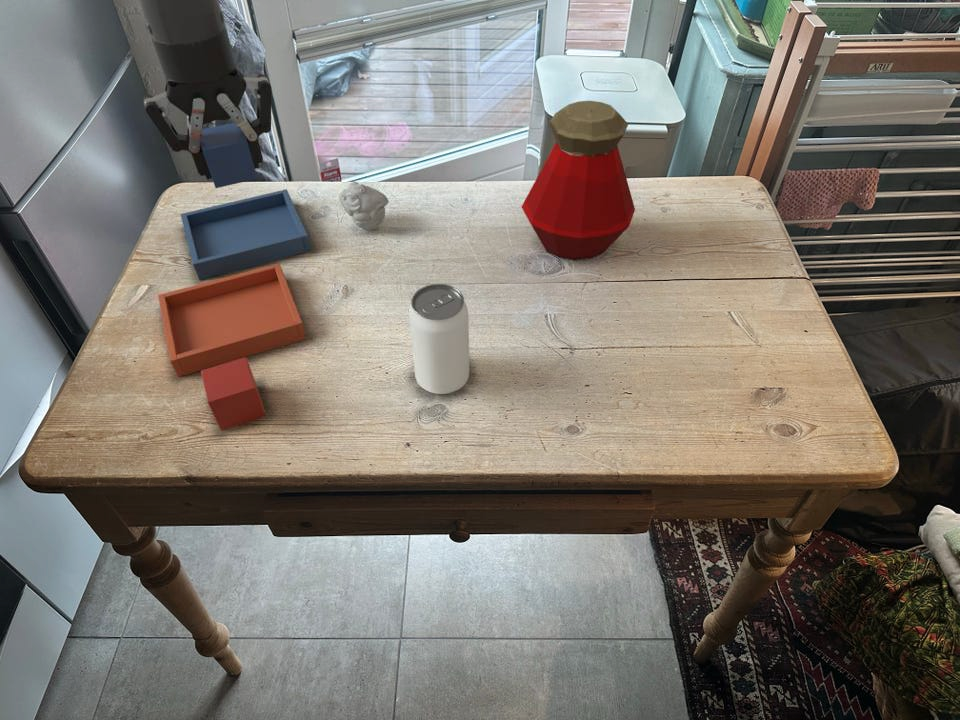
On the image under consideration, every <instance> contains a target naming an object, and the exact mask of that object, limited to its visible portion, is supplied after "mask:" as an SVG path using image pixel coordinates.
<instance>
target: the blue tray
mask: <svg viewBox="0 0 960 720" xmlns="http://www.w3.org/2000/svg"><path fill="white" fill-rule="evenodd" d="M180 218H181V222H182V226H183V231H184V234H185V238H186V242H187V246H188V250H189V254H190V258H191V263H192V265H193V268H194V271H195V273H196V275H197V278H198V280H199V281H201V280H206V279H210V278H214V277H218V276H220V275H224V274H230V273H232V272H237V271H241V270H244V269H248V268H251V267H256V266H259V265H263V264H266V263H270V262H274V261H278V260H282V259H286V258H291V257H295V256H297V255H298V256H299V255H301V254H306V253H309V252H312V248H311V247H312V246H311V243H310V240H309V234H308V232H307V231H306V229H305V228H306V227H304V223H303V222H302V220H301V217H300V215H299V213H298V211H297V208H296V206H295V204H294V202H293V200H292V197H291V196H290V193H289V191H288V188H287V189H282V190H277V191H273V192H268V193H264V194H260V195H255V196H252V197H248V198H247V197H246V198H243V199H238V200H234V201H230V202H225V203H221V204H218V205H213V206H209V207H205V208H200V209H196V210H192V211H188V212H183V213H180Z"/></svg>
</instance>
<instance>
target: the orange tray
mask: <svg viewBox="0 0 960 720" xmlns="http://www.w3.org/2000/svg"><path fill="white" fill-rule="evenodd" d="M157 297H158V303H159V308H160V313H161V320H162V325H163V330H164V335H165V340H166V346H167V351H168V356H169V357H168V358H169V362H170V364H171V366H172V368H173V370H174V371H175V374H176V376H177V378H180V377H182V376H185V375H189V374H192V373H196V372H199V371H201V370H204V369H208V368H211V367H214V366H218V365H221V364H225V363H228V362H231V361H235V360H238V359H241V358H245V357H246V358H247V357H250V356H252V355H253V356H254V355H256V354H259V353H263V352H266V351H270V350H272V349H276V348H280V347H284V346H286V345H291V344H293V343H296V342H299V341H303V340H307V334H306V330H305V327H304V323H303V321H302V318H301V315H300V313H299V309H298V308H297V305H296V302H295V300H294V297H293V295H292V292H291V289H290V287H289V284H288V282H287V279H286V277H285V274H284V271H283V268H282V266H281V263H279V262H278V263H274V264H271V265H266V266H262V267H258V268H256V269H251V270H248V271H244V272H241V273H237V274H233V275H229V276H225V277H221V278H217V279H214V280H210V281H206V282H202V283H198V284H194V285H191V286H187V287H183V288H180V289H175V290H172V291H167V292H164V293H160V294H157Z"/></svg>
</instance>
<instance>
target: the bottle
mask: <svg viewBox="0 0 960 720" xmlns="http://www.w3.org/2000/svg"><path fill="white" fill-rule="evenodd" d="M549 126H550V128H551V130H552V134H553V136H554V139H555V144H554V145H553V147H552V150H551V151H550V153H549V155H548V157H547V159H546V161H545V163H544V164H543V166H542V168H541V170H540V172H539V173H538V175H537V176H536V179H535V181H534V183H533V184H532V187H531V188H530V190H529V192H528V193H527V195H526V197H525V200H524V201H523V203H522V205H521V210H522V211H523V213H524V215H525V217H526V218H527V220H528V222H529V224H530V226H531V227H532V228H533V231H534V233H535V234H536V236H537V237H538V240H539V241H540V244H542V246H543V248H544V250H545V251H546V253H548V254H550V255H553V256H555V257H557V258H560V259H564V260H570V261H582V260H591V259H594V258H596V257H598V256H601V255H603V254H604V253H605V252H606V251H607V250H608V249H609V248H610V247H611V246H612V245H613V244H614V243H615V242H616V241H617V240H618V239H619V238H620V237H621V236H622V235H623V233H624V232H626V230H627V229H628V228H629V227H630V225H631V222H632V220H633V217H634V214H635V211H636V207H635V204H634V199H633V196H632V193H631V189H630V185H629V183H628V178H627V176H626V175H627V174H626V172H625V171H626V170H625V167H624V165H623V164H624V163H623V161H622V157H621V154H620V151H619V147H618V144H619V143H620V141H621V140H622V138H623V137H624V135H625V133H626V131H627V129H628V126H629V123H628V122H627V121H626V119H624V116H622V115H621V114H620V113H619V112H618V111H617V110H616V108H614V107H613V106H612V105H611V104H608V103H605V102H603V101H595V100H581V101H575V102H572V103H569V104H567V105H566V106H564V107H562V108H561V109H560V110H558V111H556V112H555V113H554V115H553V116H552V118H551V119H550V121H549Z"/></svg>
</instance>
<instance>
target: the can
mask: <svg viewBox="0 0 960 720" xmlns="http://www.w3.org/2000/svg"><path fill="white" fill-rule="evenodd" d="M408 323H409V331H410V332H409V333H410V342H411V350H412V360H413V370H414V378H415V381H416V383H417V384H418V386H420V387H421V388H422V389H424V390H425V391H427V392H429V393H432V394H436V395H448V394H452V393H455V392H456V391H458V390H460V389H461V388H463V387H464V386H465V385H466V383H467V382H468V379H469V377H470V330H469V329H470V326H469V325H470V322H469V309H468V305H467V303H466V302H465V298H464V295H463V293H462V292H461V291H460V290H459V289H458V288H456V287H454V286H453V285H449V284H445V283H432V284H428V285H425V286H422V287H421V288H419V289H418V290H416V292H414V294H413V296H412V297H411V303H410V307H409V310H408Z"/></svg>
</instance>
